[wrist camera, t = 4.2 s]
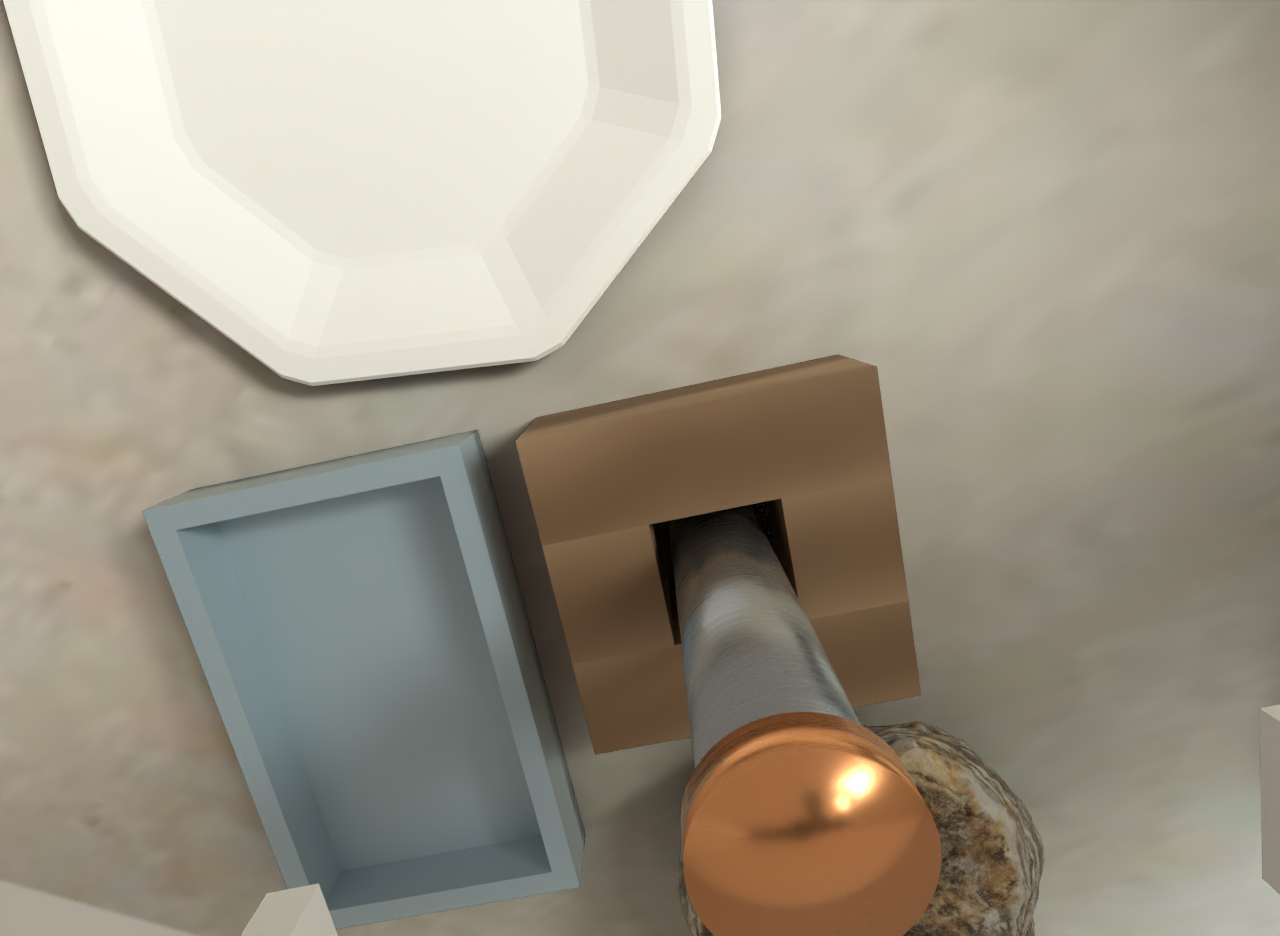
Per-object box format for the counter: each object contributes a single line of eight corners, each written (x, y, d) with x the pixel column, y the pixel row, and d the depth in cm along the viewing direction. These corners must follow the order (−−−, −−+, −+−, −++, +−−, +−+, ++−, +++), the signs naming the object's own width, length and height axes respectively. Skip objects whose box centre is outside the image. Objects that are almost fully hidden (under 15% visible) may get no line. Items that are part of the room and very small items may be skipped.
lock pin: (651, 489, 24) (661, 779, 10) (756, 469, 24) (925, 731, 10) (672, 587, 25) (709, 988, 11) (774, 568, 25) (954, 948, 10)
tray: (191, 489, 25) (142, 511, 22) (477, 429, 24) (458, 444, 22) (334, 879, 28) (305, 934, 26) (585, 835, 28) (579, 887, 25)
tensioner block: (536, 417, 24) (515, 441, 20) (838, 354, 23) (876, 366, 19) (602, 686, 26) (595, 754, 22) (878, 634, 26) (921, 695, 22)
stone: (601, 791, 23) (889, 963, 16) (783, 616, 29) (1053, 681, 22) (710, 1062, 28) (978, 1298, 20) (849, 861, 34) (1095, 984, 26)
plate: (146, 401, 24) (114, 408, 23) (-48, -313, 20) (-104, -362, 18) (733, 335, 24) (739, 338, 22) (672, -421, 19) (674, -480, 18)
